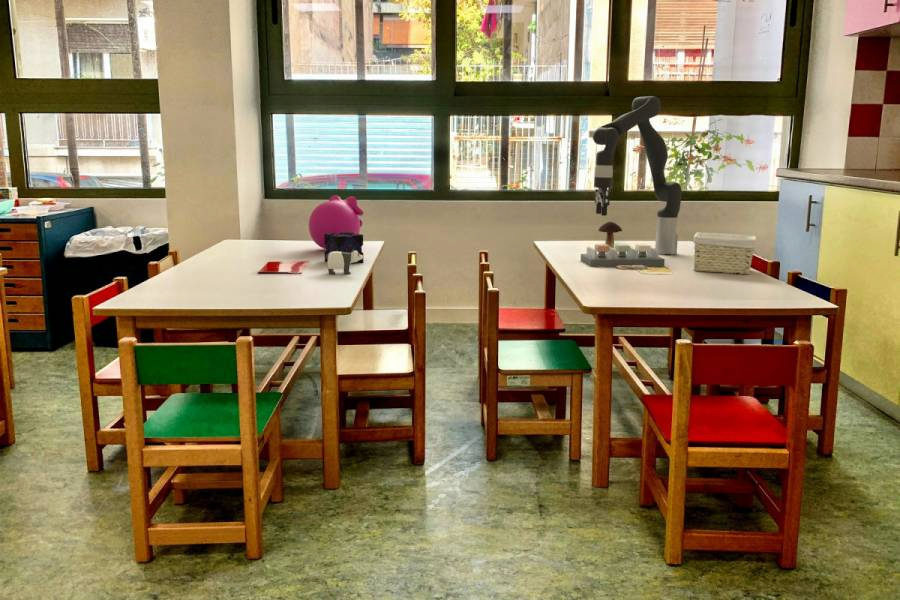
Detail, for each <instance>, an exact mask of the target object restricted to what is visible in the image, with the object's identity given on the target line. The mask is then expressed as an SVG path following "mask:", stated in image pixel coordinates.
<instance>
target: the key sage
mask: <svg viewBox="0 0 900 600" xmlns="http://www.w3.org/2000/svg"><path fill="white" fill-rule="evenodd" d="M630 247H631V245H629V244H626V243H616V244H615V243H614V249H616V250H618V254H619V256H626V254H627V252H630Z"/></svg>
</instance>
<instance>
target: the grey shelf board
mask: <svg viewBox="0 0 900 600" xmlns="http://www.w3.org/2000/svg"><path fill="white" fill-rule="evenodd" d="M659 255H660V254H659V250H657V249H655V248H654V247H652V246H651V249H650V252H646V256H639V251H638V250H636V249H635V247H631V246H630V252H626V256H619V252H618V250H616V249H615V247H614V248H611V247H610V250H609V252H607V253H605V256H598V251H597V250H595V248H593V247H591V246H587V247H586V253H580V261H581V262H582V263H584V264H586V265H587V266H589V267H593V268H594V267H595V268H599V267H600V268H601V267H605V268H606V267H607V268H608V267H609V268H610V267H615V268H616V266H619V265H629V266H632V265H642V266H646V267H665V262H666V261H665V258H662V257H660V256H659Z"/></svg>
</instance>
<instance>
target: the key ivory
mask: <svg viewBox="0 0 900 600" xmlns="http://www.w3.org/2000/svg"><path fill="white" fill-rule="evenodd" d="M651 247H652V246H651V245H650V244H648V243H647V244H646V243H640V244H639V243H637V244H636V243H635V247H634V249H636V250H638V254H639V256H646V254H647V252H650V249H651Z"/></svg>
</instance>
